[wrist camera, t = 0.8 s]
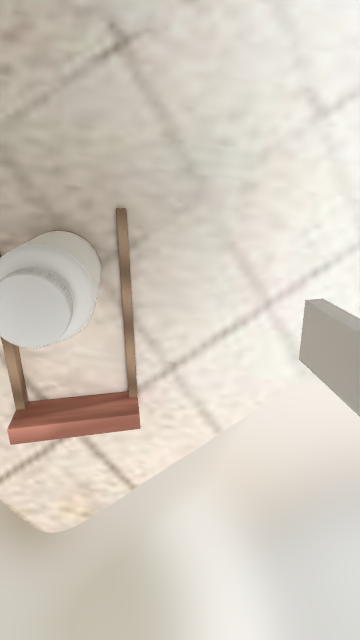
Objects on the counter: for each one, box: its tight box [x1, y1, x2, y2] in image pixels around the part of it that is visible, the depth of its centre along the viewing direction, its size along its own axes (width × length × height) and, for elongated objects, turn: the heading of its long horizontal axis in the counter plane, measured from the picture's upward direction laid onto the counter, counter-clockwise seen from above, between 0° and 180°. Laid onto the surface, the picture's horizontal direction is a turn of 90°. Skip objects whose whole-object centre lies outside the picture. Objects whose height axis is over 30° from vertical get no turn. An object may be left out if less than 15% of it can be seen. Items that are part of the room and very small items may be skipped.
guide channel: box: [0, 209, 140, 445], centre depth 35 cm, size 24×14×5 cm, turn 1°
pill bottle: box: [0, 231, 101, 348], centre depth 29 cm, size 8×8×15 cm
